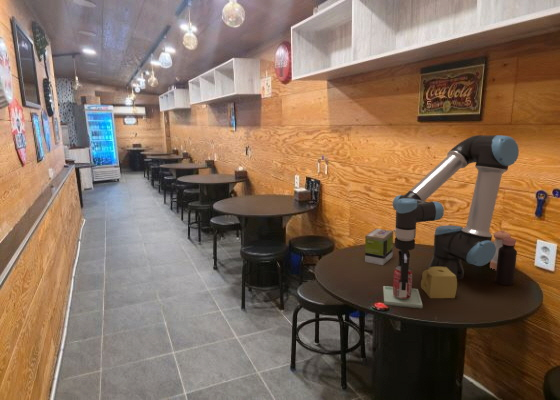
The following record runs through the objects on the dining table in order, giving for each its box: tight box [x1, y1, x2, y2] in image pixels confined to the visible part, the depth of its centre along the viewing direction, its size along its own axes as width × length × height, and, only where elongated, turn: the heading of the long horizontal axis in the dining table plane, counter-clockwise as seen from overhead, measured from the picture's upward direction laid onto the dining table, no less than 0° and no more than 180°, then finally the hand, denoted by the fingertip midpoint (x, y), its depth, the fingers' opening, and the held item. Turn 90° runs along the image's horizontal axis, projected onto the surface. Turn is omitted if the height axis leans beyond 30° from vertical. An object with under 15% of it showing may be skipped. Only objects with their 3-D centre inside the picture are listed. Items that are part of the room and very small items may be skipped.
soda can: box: [392, 265, 413, 299], centre depth 142 cm, size 7×7×12 cm
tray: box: [382, 285, 423, 309], centre depth 143 cm, size 14×14×2 cm
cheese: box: [420, 267, 458, 299], centre depth 146 cm, size 10×11×10 cm
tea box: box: [364, 228, 394, 266], centre depth 185 cm, size 15×10×15 cm, turn 144°
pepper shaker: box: [489, 230, 512, 271], centre depth 170 cm, size 7×7×19 cm
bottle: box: [494, 237, 518, 286], centre depth 154 cm, size 7×7×20 cm
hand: (401, 292), depth 143 cm, fingers closed on soda can, 7 cm apart
